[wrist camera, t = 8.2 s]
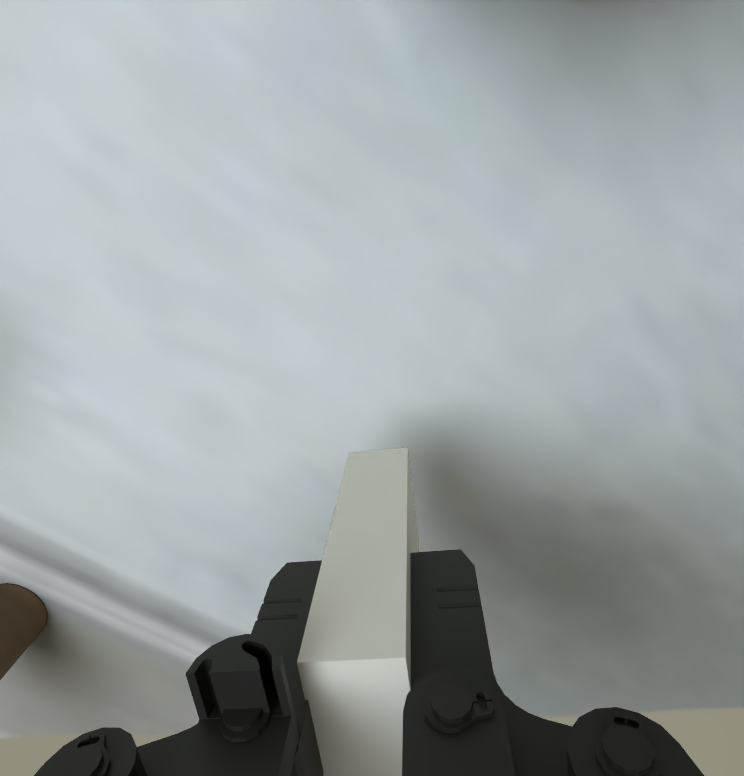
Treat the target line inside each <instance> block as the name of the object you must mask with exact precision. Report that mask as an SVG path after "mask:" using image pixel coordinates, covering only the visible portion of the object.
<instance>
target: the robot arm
mask: <svg viewBox="0 0 744 776" xmlns="http://www.w3.org/2000/svg"><path fill="white" fill-rule="evenodd" d="M186 677H187V680H188V683H189V687H190V690H191V693H192V696H193V700H194V703H195V706H196V709H197V713H198V716H199V722H198V724H196V725H195V726H193V727H191V728H189V729H187V730H184V731H182V732H180V733H178V734H175V735H172V736H169V737H166V738H163V739H160V740H157V741H154V742H151V743H148V744H145V745H142V746H139V747H136V745H135V742H134V740H133V737H132V735H131V734H130V733H128V732H126V731H124V730H123V729H121V728H100V729H97V730H94V731H91V732H88V733H85V734H82V735H81V736H79V737H78V738H76V739H75V740H73V741H71V742H69V743H68V744H66V745H65V746H63V747H62V748H61V749H60V750H59V751H57V753H55V754H54V755H53V756H52V757H51V758H50V759H49V760H48V761H47V762H46V763H45V764H44V765H43V766H42V767H41V768H40V769H39V770H38V772H37V773H36V774H35V775H34V776H704V775H703V774H702V773H701V771H700V770H699V769H698V767H697V766H696V765H695V763H694V762H693V761H692V759H691V758H690V757H689V756H688V754H687V753H686V752H685V750H684V749H683V748H682V747H681V745H680V744H679V743H678V742H677V741H676V740H675V739H674V738H673V737H672V736H671V735H670V734H669V733H668V732H667V731H666V730H665V729H664V728H663V727H662V726H661V725H659V724H657V723H656V722H654V721H652V720H650V719H648V718H647V717H645V716H643V715H641V714H640V713H637V712H633V711H629V710H625V709H621V708H617V707H614V708H600V709H594V710H592V711H590V712H588V713H586V714H584V715H582V716H580V717H579V718H578V720H577V721H576V722H575V724H574V725H573V727H572V726H568V725H564V724H561V723H557V722H553V721H549V720H546V719H543V718H540V717H537V716H535V715H532V714H529V713H528V712H526V711H524V710H523V709H521V708H519V707H518V706H516V705H515V704H514V703H513V702H512V701H511V700H510V699H509V698H508V697H506V696H505V695H504V693H503V692H502V690H501V689H500V687H499V685H498V684H497V682H496V679H495V676H494V673H493V668H492V662H491V657H490V651H489V645H488V640H487V634H486V629H485V623H484V617H483V612H482V606H481V601H480V595H479V589H478V584H477V578H476V572H475V567H474V565H473V564H472V562H471V561H470V560H469V559H468V558H467V556H466V555H465V554H464V553H463V552H462V550H446V551H431V552H419V541H418V532H417V523H416V515H415V506H414V498H413V489H412V481H411V472H410V463H409V455H408V448H396V449H385V450H373V451H362V452H350V453H348V457H347V461H346V466H345V470H344V474H343V478H342V482H341V486H340V490H339V494H338V498H337V502H336V506H335V510H334V514H333V518H332V522H331V526H330V530H329V535H328V539H327V543H326V547H325V551H324V555H323V559H322V561H306V562H291V563H286V564H285V566H284V567H283V568H282V569H281V570H280V571H279V572H278V573H277V574H276V575H275V576H274V577H273V579H272V580H271V581H270V584H269V587H268V589H267V592H266V595H265V598H264V604H262V606H261V608H260V611H259V614H258V620H257V621H256V622H255V625H254V627H253V630H252V633H251V634H244V635H239V636H234V637H229V638H227V639H225V640H223V641H221V642H219V643H217V644H215V645H212V646H211V647H210V648H208V649H207V650H206V651H205V652H203V653H202V654H201V655H200V656H199V657H197V658H196V659H195V661H194V662H193V664H192V665H191V667H190V668H189V670H188V671H187V672H186Z"/></svg>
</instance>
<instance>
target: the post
mask: <svg viewBox="0 0 744 776" xmlns="http://www.w3.org/2000/svg"><path fill="white" fill-rule="evenodd" d="M46 622H47V613H46V609H45V607H44V605H43V603H42V602H41V601H40V599H39V598H38V597H37V596H36V595H34V594H33V593H32V592H30V591H29V590H27V589H25V588H23V587H20V586H17V585H13V584H0V680H1V679H2V678H3V676H4V675H5V674H6V673H7V672H8V670H9V669H10V668H11V667H12V665H13V664H14V663H15V662H16V661H17V659H18V658H19V657H20V656H21V655H22V653H23V652H24V651H25V650H26V649H27V647H28V646H29V645H30V644H31V643H32V641H33V640H34V639H35V638H36V637H37V635H38V634H39V633H40V632H41V631H42V629H43V628H44V627H45V625H46Z"/></svg>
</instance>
